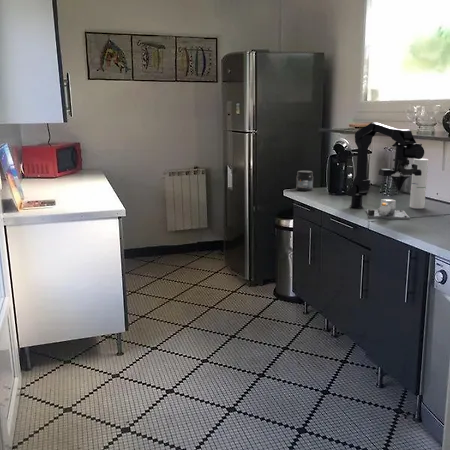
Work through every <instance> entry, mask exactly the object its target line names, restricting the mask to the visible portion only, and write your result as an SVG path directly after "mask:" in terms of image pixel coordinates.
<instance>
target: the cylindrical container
mask: <svg viewBox="0 0 450 450" xmlns="http://www.w3.org/2000/svg"><path fill="white" fill-rule="evenodd" d="M429 160H430V159H428V158H421V159H413V161H412V162H413V163H412V164H417V169H420V170H421V171H422V174H421V176H415V175H414V174H412V175H411V185H410V186H411V187H410V195H409V196H410V197H409V208H411V209H418V210H419V209H424V208H425V202H426V191H427V182H428V181H427V180H428V172H429V171H428V170H429Z"/></svg>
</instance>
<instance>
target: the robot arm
mask: <svg viewBox="0 0 450 450" xmlns="http://www.w3.org/2000/svg"><path fill="white" fill-rule="evenodd" d="M412 132H413V131H412V130H411V129H407V128H406V129H405V128H395V127H393V126H389V125H386V124H383V123H380V122H377V121H376V122H370V123H368V124H367V125H365V126H364V127H361V128H360V129H358V130H357V131H356V132H354V142H355V146H356V147H357V155H356V156H357V158H356V170H355V171H356V173H355V174H356V175H355V177H354V178H353V180H352V185H351V187H350V188H349V190H348V191H347V196H349V197H351V199H350V201H351V203H350V205H349V207H350V209H364V205H363V201H364V199H363V198H364V196H365V197H366V196H367V194H368V192H369V191H370V188H371V186H370V185H371V180H370V179H368V177H367V171H368V170H367V169H368V157H369V156H368V155H369V154H368V153H369V151H368V150H369V147H370V145H371V144H372V141H373V138H374V137H375V136H376V135H377V133H378V134H382V135H384V136H387V137H390V138H391V139H392V140H393V141H395V142H394V143H393V144H392V145H391V147H393V148H395V152H394V153H395V154H394V158H393V160H392V161H393V162H394V164H393V167H392V169H389V168H380V169H379V170H378V175H379V176H382V177H391V178H392V181H393V183H394V186H395V188H396V190H397V192H398V191H401V189H402V187H403V185H404V182H405V181H406V180H407V179H408V178H410V177H411V176H412V174H414V175H415V176H421V174H422V171H421V170H420V169H417V164H413V163H412V164H410V160H409V159H412V160H414V159H423V157H424V156H425V150H424V149H425V148H424V147H423V146H422V145H423V144H422V143H417V141H416V140H415V137H414V135H413V133H412Z"/></svg>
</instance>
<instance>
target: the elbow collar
mask: <svg viewBox="0 0 450 450" xmlns="http://www.w3.org/2000/svg"><path fill="white" fill-rule="evenodd" d="M379 201H380V202H379V207H378V208H377V210H378V214H379V215H381V216H386V215H387V214H395V210H396V202H397V200H395V199H389V198H383V199H380V200H379Z"/></svg>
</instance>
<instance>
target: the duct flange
mask: <svg viewBox="0 0 450 450" xmlns="http://www.w3.org/2000/svg"><path fill="white" fill-rule="evenodd" d="M365 212H366V214H367V216H368V219H380V218H382V219H384V220H386V219H387V220H407V219H409V220H410V216H409V215H408V214H407V213H406V211H405V210H402V209H400V210H396V209H395V214H387V215H386V216H381V215H379V214H378V209H370V208H368V209H365Z"/></svg>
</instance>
